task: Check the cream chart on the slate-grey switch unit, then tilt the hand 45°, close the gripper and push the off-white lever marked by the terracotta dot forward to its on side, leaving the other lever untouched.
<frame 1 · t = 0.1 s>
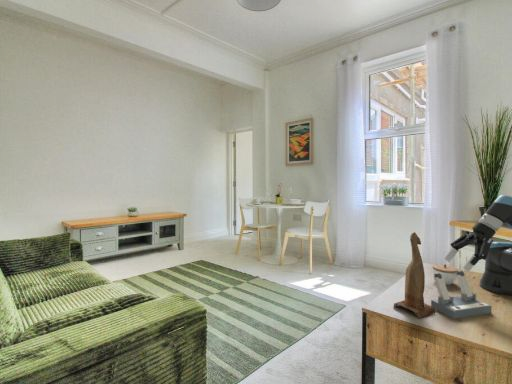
hand: (455, 264, 123), 15 cm above the table, tool tilted 35°, fingers open, 13 cm apart
lidded jar: (444, 282, 142), on the table
marked lever: (464, 284, 117), point 9 cm above the table, hinge at -25.0°
other lever: (441, 287, 114), point 9 cm above the table, hinge at -25.0°
switch unit: (460, 310, 112), on the table
bird sculpture: (413, 310, 112), on the table
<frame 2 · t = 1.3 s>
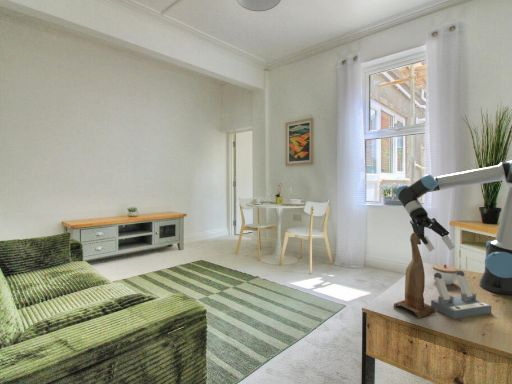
hand: (442, 249, 127), 21 cm above the table, tool tilted 45°, fingers open, 11 cm apart
nothing on the table moved.
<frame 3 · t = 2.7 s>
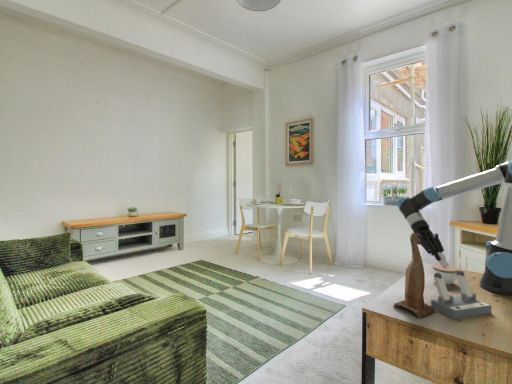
hand: (445, 266, 124), 14 cm above the table, tool tilted 45°, fingers closed
nothing on the table moved.
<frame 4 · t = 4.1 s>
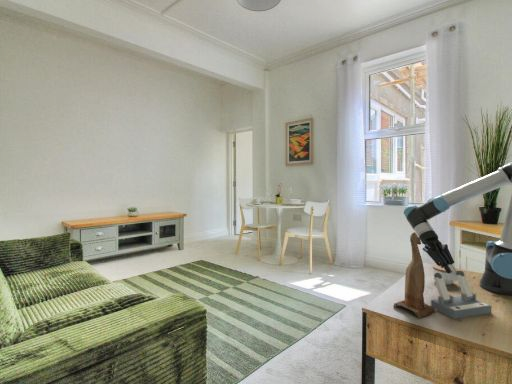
hand: (456, 279, 119), 10 cm above the table, tool tilted 45°, fingers closed
marked lever: (464, 284, 117), point 9 cm above the table, hinge at -25.0°, touching gripper
everything else where it was.
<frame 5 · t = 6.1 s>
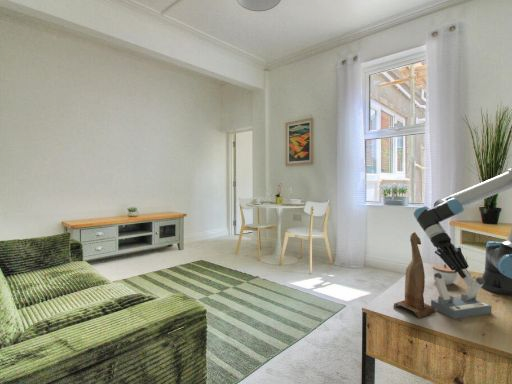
hand: (471, 284, 113), 10 cm above the table, tool tilted 45°, fingers closed
marked lever: (474, 288, 113), point 9 cm above the table, hinge at 26.0°, touching gripper
everything else where it was.
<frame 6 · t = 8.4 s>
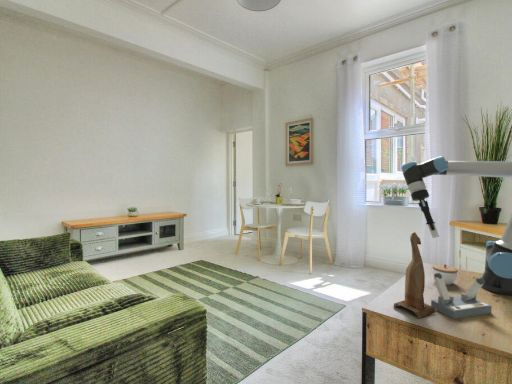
hand: (435, 237, 132), 25 cm above the table, tool tilted 25°, fingers closed
marked lever: (474, 288, 113), point 9 cm above the table, hinge at 26.1°
everything else where it was.
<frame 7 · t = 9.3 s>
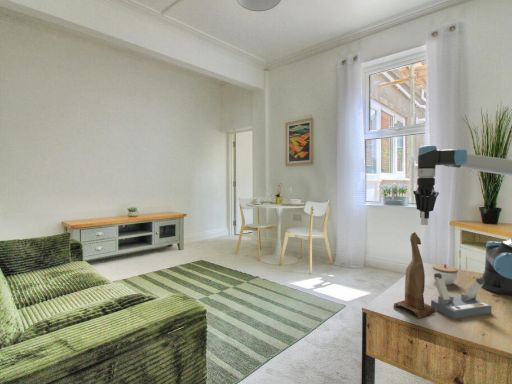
hand: (424, 224, 138), 30 cm above the table, tool pointing down, fingers closed
nothing on the table moved.
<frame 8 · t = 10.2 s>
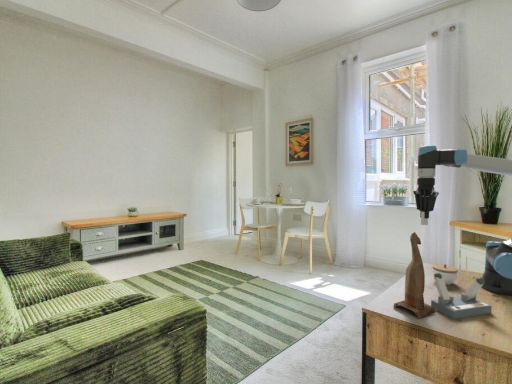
hand: (424, 224, 138), 30 cm above the table, tool pointing down, fingers closed
nothing on the table moved.
at the end: marked lever at +26° (first picture: -25°); other lever at -25° (first picture: -25°) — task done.
